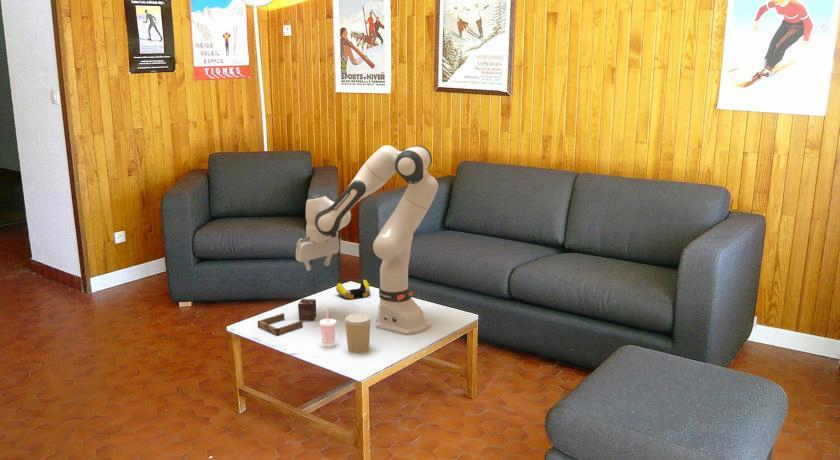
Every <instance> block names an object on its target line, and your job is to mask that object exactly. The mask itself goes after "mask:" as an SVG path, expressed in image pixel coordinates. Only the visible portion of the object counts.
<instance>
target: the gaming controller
mask: <svg viewBox="0 0 840 460" xmlns="http://www.w3.org/2000/svg"><path fill="white" fill-rule="evenodd" d="M335 289H336V292H337V293H338V294H339V295H340V296H341V297H342V298H344V299H346V300H353V299H360V298H361V299H362V298H366V297H368V296H369V295H370V293H371V292H370V291H371V290H370V283H369V282H368V281H367V279H363V280H362V281H361V283H360V286H359V287H358V288H353V289H348V290H347V289H346V288H345V287H344V285H343V284H342V283H340V282H338V283H337V285H336V287H335Z"/></svg>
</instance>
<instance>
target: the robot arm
mask: <svg viewBox="0 0 840 460" xmlns="http://www.w3.org/2000/svg"><path fill="white" fill-rule="evenodd" d="M432 160H433V157H432V153H431V152H430V150H429V149H428V148H427V147H425V146H422V145H413V146H410V147H406V148H404V149H402V150H401V151H400V150H398V149H397V148H396V147H395V146H393V145H389V144H387V145H386V144H385V145H382V146H381V147H379V148H378V149H377V150H376V151H375V152H374V153H373V154H372V155H370V157H369V158H368V159H367V160H366V161H365V162H364V164H363V165H362V166H361V168H360V169H359V170H358V172H357V174H355V176H354V178H353V179H352V180H351V182H350V184H349V185H348V186H347V187H346V189H345V190H344V191H343V192H342V193H341V194H340V195H339V197H338V198H336V200H335V201H333V200H331V199H329V198H328V196H326V195H325V194H317V195H314V196H313V195H312V196H310V197H309V198H308V199H307V200H306V203H305V221H306V225H305V226H306V227H305V234H306V235H305V237H304V238H299V239H298V240H297V242H296V247H295V260H296V261H297V262H299V263H303V264H304V265H305V268H306V269H305V270H306V271H308V272H310V271H312V269H313V267H312V265H310V262H311V261H313V260H316V259H320V258H324V257H326V258H325V260H324V261H323V262H324V263H323V264H324V266H326V267H328V266H330V265H331V260H332V257H333V255H334V254H335V255H336V254H338V253H339V252H340V240H339V238H338V237H339V231H340V230H342V229H343V228H345V227H346V226H347V225H349V224H350V223H351V220H352V213H351V209H352V208H353V207H354V206H355V205H356V204H357V203H358V202H360V201H361V200H362V199H364V198H366V197H367V196H369V195H371V194H374V193H375V192H377V191H378V190H379V189H381V188H382V187H383V186H385V184H386V183H387V182H388V181H390V178H392V177H393V175H395V173H397V174H398V176H400V177H401V179H403V180H404V181H405V182H406V183H407V184H408V186H407V187H406V189H405V191H404V192H403V195H402V197H401V198H400V200H399V202H398V203H397V206H396V207H395V210H394V211H393V212H392V214H390V216H389V218H388V219H387V220H386V222H385V223H384V225H383V227H382V228H381V229H380V231H379V233H378V235H377V236H376V237H375V239H374V241H373V244H372V250H373V253H374V255H375V256H376V257H377V258H379V259H381V260H382V261H381V265H380V267H379V268H380V269H379V288H378V290H379V292H378V296H379V304H378V313H377V318H376V326H375V327H376V328H378V329H383V330H385V331H386V330H387V331H391V332H394V333H397V334H401V335H405V336H407V335H414V334H419V333H420V332H424V331H426V330H428V329H429V328H430V327H431V323H430V321H427V320H425V315H424V314H425V313H424V310H422V308H421V306H419V305H418V304H417V303H416V302H415V300H414V299H413V298H412V296H413V295H414V294H413V293H414V291H410V290H411V289H410V288H409V263H410V257H411V250H412V242H413V238H414V233H415V231H416V230H417V228H418V227H419V226H420V224H421V223H422V221H423V219H424V218H425V217H426V216H425V215H426V214H427V212H428V211H429V209H430V207H431V205H432V204H433V201H434V199H435V197H436V194H437V192H438V190H439V189H438V188H439V183H438V180H437V179H436V178H435V177H434V176H433V175H432V174H430V173H429V168H430V167H431V165H432Z"/></svg>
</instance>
